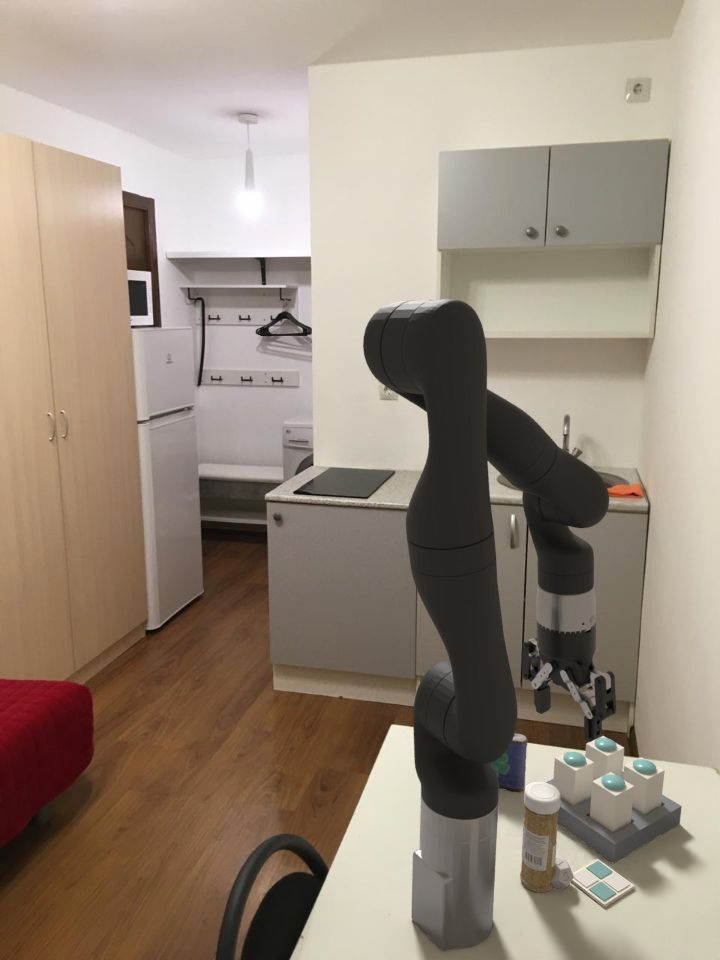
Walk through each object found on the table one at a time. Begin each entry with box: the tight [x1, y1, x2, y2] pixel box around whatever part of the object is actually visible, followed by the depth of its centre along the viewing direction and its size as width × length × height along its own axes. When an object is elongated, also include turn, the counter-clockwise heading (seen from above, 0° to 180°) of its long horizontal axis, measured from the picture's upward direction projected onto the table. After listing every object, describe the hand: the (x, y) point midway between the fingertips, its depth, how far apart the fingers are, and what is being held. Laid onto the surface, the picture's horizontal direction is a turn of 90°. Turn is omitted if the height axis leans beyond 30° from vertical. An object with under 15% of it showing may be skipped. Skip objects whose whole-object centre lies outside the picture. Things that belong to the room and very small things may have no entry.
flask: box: [490, 732, 528, 793], centre depth 121 cm, size 9×3×11 cm, turn 61°
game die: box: [551, 857, 574, 890], centre depth 100 cm, size 4×4×3 cm
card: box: [570, 858, 635, 908], centre depth 100 cm, size 6×6×1 cm
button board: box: [545, 770, 682, 864], centre depth 114 cm, size 15×15×3 cm
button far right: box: [623, 756, 665, 815], centre depth 112 cm, size 4×4×6 cm
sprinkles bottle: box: [519, 781, 560, 893], centre depth 99 cm, size 5×5×13 cm
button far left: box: [584, 735, 625, 781], centre depth 118 cm, size 4×4×6 cm
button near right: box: [590, 772, 634, 833], centre depth 108 cm, size 4×4×6 cm
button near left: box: [552, 749, 594, 807], centre depth 114 cm, size 4×4×6 cm
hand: (566, 724), depth 104 cm, fingers open, 8 cm apart
